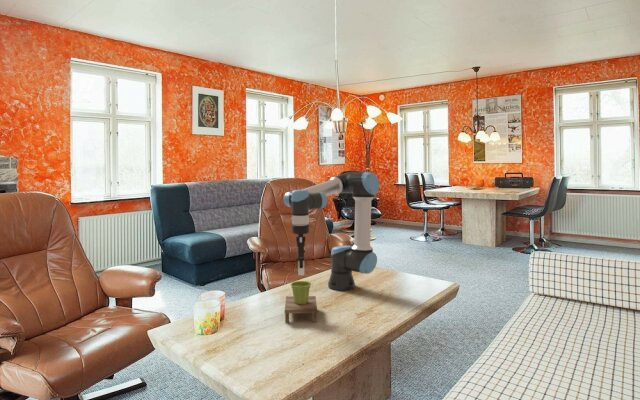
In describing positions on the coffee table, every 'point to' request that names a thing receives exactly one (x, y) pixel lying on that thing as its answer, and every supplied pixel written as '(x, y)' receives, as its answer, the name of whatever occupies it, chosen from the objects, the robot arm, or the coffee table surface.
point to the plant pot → (300, 291)
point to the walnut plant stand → (300, 307)
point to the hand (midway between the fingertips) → (301, 270)
